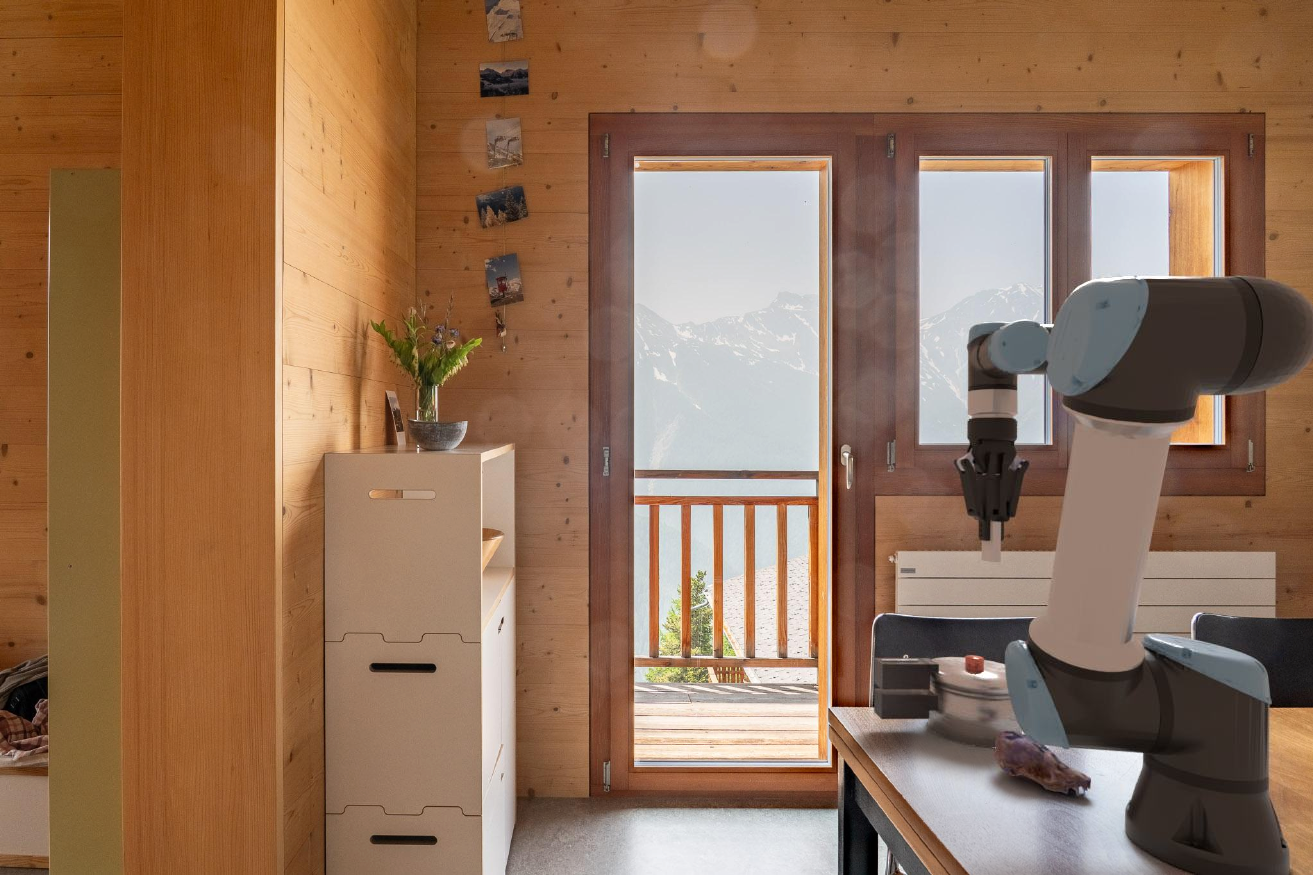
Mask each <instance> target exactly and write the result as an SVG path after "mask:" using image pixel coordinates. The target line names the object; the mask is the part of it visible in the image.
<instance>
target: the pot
mask: <svg viewBox="0 0 1313 875" xmlns="http://www.w3.org/2000/svg"><path fill="white" fill-rule="evenodd" d="M873 695H874V696H873V698H874V700H873V702H874V703H873V704H874V705H873V709H874V710H873V713H875V715H877V717H879V718H880V719H881V720H927V727H928V729H929V730H930V729H931V731H932V732H933V733H934V734H935V735H937V736H939V737H942V738H944V739H945V740H949V741H951V740H952V742H955V743H958V744H961V745H962V744H963V745H966V744H967V745H966V746H971V745H974V746H973V747H977V746H979V748H987V747H996V746H995V742H996V739H997V737H998V735H999V734H1000V732H1001V731H1004V730H1013V731H1015V732H1018V733H1020V734H1023V731H1022V730H1021V728H1020V726H1019V724H1018V722H1017V719H1016V717H1015V714H1014V711H1013V708H1012V705H1011V701H1010V697H1009V694H982V693H973V692H967V691H962V690H957V689H953V688H949V687H946V686H943V685H940V684H937V683H935V682H933V681H931V680H930V690H882V689H881V688H874V694H873Z"/></svg>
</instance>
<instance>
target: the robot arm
mask: <svg viewBox="0 0 1313 875" xmlns="http://www.w3.org/2000/svg"><path fill="white" fill-rule="evenodd" d="M966 349H967V415H969V416H970V417H971V418H968V420H967V425H966V426H967V433H966V434H967V435H966V437H967V438H966V439H967V440H968V442H969V444H968V447H967V450H966V454H965V455H963V456H962V457H960V458H955V459H954V460H953V464H954V467H955V468H956V470H957V471H958V473H959V478H960V485H961V489H962V493H963V498H964V503H965V509H966V514H967V515H968V517H971V518H974V520H977V521H978V539H979V541H981V560H982V561H985V562H989V563H990V562H991V563H1001V562H1002V561H1001V558H1002V554H1001V550H1002V548H1001V547H1002V546H1001V545H1002V542H1003V541H1004V540H1005V539H1004V538H1005V522H1006V523H1007V522H1009V521H1010V518H1015V517H1016V514H1017V509H1018V504H1019V501H1020V495H1021V491H1022V486H1023V482H1024V481H1023V480H1024V475H1025V473H1026V472H1027V470H1028V468H1029V466H1030V461H1029V460H1027V459H1026V460H1024V459H1022V458H1021V457H1019V456H1018V455H1017V454H1018V452H1017V449H1016V447H1015V443H1016V441H1017V440H1018V420H1017V418H1015V416H1016V415H1018V414H1019V413H1018V378H1019V377H1018V375H1036V376H1037V375H1039V376H1040V375H1047V380H1048V383H1049V385H1050V387H1051V388H1052V389H1053V390H1054V391H1055V392H1056V393H1059V394H1061V395H1062V402H1061V405H1062V408H1063V409H1064V410H1065V411H1066V412H1067V413H1068V415H1070V417H1072V419H1073V420H1074V422H1075V423H1074V429H1073V436H1072V443H1071V449H1070V456H1069V462H1068V468H1067V476H1066V483H1065V489H1064V490H1065V491H1064V495H1063V502H1062V509H1061V512H1060V513H1061V514H1060V522H1059V526H1058V532H1057V533H1058V535H1057V540H1056V547H1055V554H1054V560H1053V565H1052V573H1051V579H1050V586H1049V593H1048V599H1047V605H1046V612H1045V613H1042V614H1040V615H1038V616H1035V617H1034V618H1033V619H1032V620H1031V622H1030V623H1029V628H1028V633H1027V639H1026V641H1024V640H1021V639H1017V640H1014V641H1011V642H1009V643H1008V645H1007V646H1006V648H1005V653H1004V664H1005V673H1006V681H1007V687H1008V692H1009V697H1010V701H1011V705H1012V708H1013V711H1014V714H1015V717H1016V719H1017V722H1018V724H1019V726H1020V728H1021V730H1022V734H1025V735H1026V736H1027V737H1028V738H1029V739H1030V740H1031V741H1033V742H1035V743H1038V744H1041V745H1045V746H1050V747H1058V748H1063V749H1064V750H1069V749H1083V750H1084V749H1085V750H1098V751H1110V752H1122V753H1138V754H1139V753H1140V754H1142V767H1141V770H1140V773H1139V775H1138V777H1137V781H1136V783H1135V786H1134V789H1133V792H1132V795H1131V797H1130V800H1128V803H1127V804H1126V805H1125V810H1124V829H1125V830H1124V831H1125V832H1126V834H1127V836H1128V838H1129V839H1130V840H1131V841H1132V842H1133V843H1135V844H1136V845H1137V846H1138V847H1140V848H1141V849H1142V850H1144V851H1146V852H1147V853H1149V854H1150V855H1152V856H1154V857H1155V858H1158V859H1160V860H1162V861H1163V862H1166V863H1168V864H1171V865H1172V866H1175V867H1177V868H1180V869H1183V870H1186V871H1188V872H1191V873H1194V874H1197V875H1290V874H1291V872H1290V871H1291V869H1290V868H1291V867H1290V866H1291V864H1290V863H1291V861H1290V860H1291V853H1290V848H1289V846H1288V843H1287V841H1286V839H1285V838H1284V835H1283V830H1282V827H1281V823H1280V822H1279V819H1278V815H1277V813H1276V810H1275V808H1274V805H1273V802H1272V799H1271V797H1270V705H1272V699H1271V692H1270V691H1271V690H1270V683H1269V682H1270V681H1269V675H1268V671H1267V669H1266V668H1265V666H1264V665H1263V663H1262V662H1260V661H1259V660H1258V659H1256V658H1254V657H1253V656H1250V655H1248V654H1246V653H1244V652H1241V651H1237V650H1235V649H1231V648H1228V647H1225V646H1222V645H1218V644H1214V643H1210V642H1206V641H1201V640H1198V639H1192V638H1188V637H1184V636H1178V635H1171V634H1164V633H1147V634H1145V636H1144V638H1143V640H1142V641H1140V640H1139V639H1138V638H1137V637H1136V636H1135V635H1134V634H1133V633H1134V628H1135V622H1136V618H1137V613H1138V607H1139V602H1140V597H1141V593H1142V592H1141V591H1142V587H1143V582H1144V577H1145V572H1146V567H1147V566H1146V565H1147V561H1148V557H1149V551H1150V547H1151V542H1152V537H1153V536H1152V535H1153V531H1154V526H1155V521H1156V517H1157V516H1156V515H1157V510H1158V506H1159V501H1160V496H1161V491H1162V485H1163V480H1164V475H1165V470H1166V465H1167V459H1168V456H1169V450H1170V445H1171V444H1170V443H1171V440H1172V435H1173V433H1174V432H1175V431H1177V430H1179V429H1181V428H1183V427H1184V426H1186V425H1187V424H1189V423H1190V422H1192V421H1193V420H1194V417H1195V412H1196V408H1197V404H1198V400H1199V399H1198V398H1199V397H1200V396H1238V395H1246V394H1247V395H1248V394H1253V393H1259V392H1263V391H1267V390H1269V389H1273V388H1276V387H1278V386H1281V385H1283V384H1284V383H1287V382H1289V381H1290V380H1292V379H1293V378H1295V377H1296V376H1298V375H1300V374H1301V372H1302V371H1304V369H1305V368H1307V367H1308V366H1309V365H1310V363H1311V362H1312V360H1313V303H1311V300H1309V299H1308V298H1306V297H1305V295H1303V294H1302V293H1301V292H1300V291H1298V290H1296V289H1294V288H1293V287H1291V286H1289V285H1287V284H1285V283H1283V282H1279V281H1276V280H1274V279H1270V278H1265V277H1261V276H1252V275H1228V276H1139V275H1138V276H1137V275H1133V276H1131V275H1127V276H1122V277H1120V276H1119V277H1111V278H1110V277H1109V278H1099V279H1098V278H1097V279H1092V280H1090V281H1087V282H1084V283H1083V284H1081V285H1079V286H1077V287H1076V288H1075V289H1074V290H1073V291H1072V292H1071V293H1070V294H1069V296H1068V297H1067V298H1066V300H1065V301H1064V302H1063V303H1062V305H1061V307H1060V309H1059V311H1058V312H1057V314H1056V316H1055V319H1054V321H1053V323H1052V324H1040V323H1039V322H1036V321H1035V320H1030V319H1019V320H1016V321H1015V320H1014V321H1011V322H1009V321H988V322H982V323H978V324H974V325H973V326H971V327H970V329H969V331H968V339H967V345H966Z"/></svg>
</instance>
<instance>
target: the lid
mask: <svg viewBox="0 0 1313 875" xmlns="http://www.w3.org/2000/svg"><path fill="white" fill-rule="evenodd" d="M873 670H874V671H873V673H874V674H873V675H874V677H873V680H874V681H873V682H874V684H875V685H877V687H878V688H879V689H882V690H930V680H931V681H933V682H935V683H937V684H940V685H943V686H946V687H949V688H953V689H957V690H962V691H967V692H973V693H982V694H1009V692H1008V687H1007V681H1006V673H1005V663H1000V662H996V661H992V660H987V659H985V658H984V657H983V656H980V655H972V654H968V655H965V656H964V657H960V656H959V657H958V656H956V657H955V656H948V657H947V656H946V657H935V658H932V659H931V658H929V657H924V658H923V657H874V669H873Z"/></svg>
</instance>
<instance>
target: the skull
mask: <svg viewBox="0 0 1313 875" xmlns="http://www.w3.org/2000/svg"><path fill="white" fill-rule="evenodd" d="M995 746H996V748H995V752H994V753H993V754H994V755H993V757H994V761H995V762H997V763H996V764H997V765H998V767H999V768H1000V770H1002V771H1003V772H1004V773H1005V774H1007V775H1009V776H1014V777H1017V776H1018V777H1019V776H1024V777H1027V778H1028V779H1031V780H1033V781H1035V782H1036V783H1038V784H1040V785H1042V787H1043V788H1044V790H1048V791H1050V792H1051V791H1053V792H1061V793H1062V794H1063V793H1064V794H1066V795H1068V792H1069V789H1070V788H1071V789H1072V790H1074V791H1075V793H1076V796H1077V797H1079V796H1080V787H1081V788H1082V790H1083V794H1085V793H1086V791H1087V792H1088V791H1089V790H1091V787H1092V785H1091V784H1092V779H1091V777H1090V776H1088V775H1087V774H1085V773H1083V772H1081V771H1079V770H1077V769H1075V768H1072V767H1070V766H1069V765H1067V764H1065V762H1063V761H1062V760H1060V759H1059V758H1058V756H1057V755H1056V754H1055V753H1054V752H1053V751H1052V750H1051V749H1049V748H1048V747H1047V745H1041V744H1038V743H1035V742H1033V741H1031V740H1030V739H1029V738H1028V737H1027V736H1026V735H1025V734H1024V733H1022V734H1020V733H1018V732H1015V731H1013V730H1004V731H1001V732H1000V734H999V735H998V737H997V739H996V742H995Z"/></svg>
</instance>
